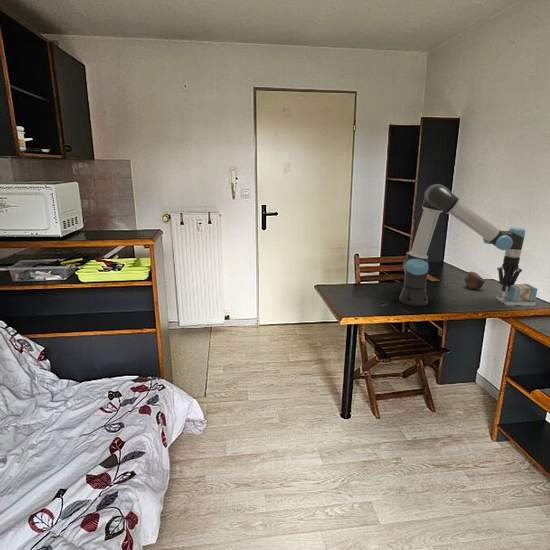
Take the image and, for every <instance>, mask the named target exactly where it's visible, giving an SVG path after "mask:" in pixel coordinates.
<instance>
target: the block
mask: <svg viewBox="0 0 550 550" xmlns="http://www.w3.org/2000/svg"><path fill="white" fill-rule="evenodd" d="M523 284H524V283H515V284H514V286H516V287H518V288H520V289H521V293H520V298H519V302H528V299H529V294H530V289H531V288H529V287H527V286H525V285H523Z"/></svg>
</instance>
